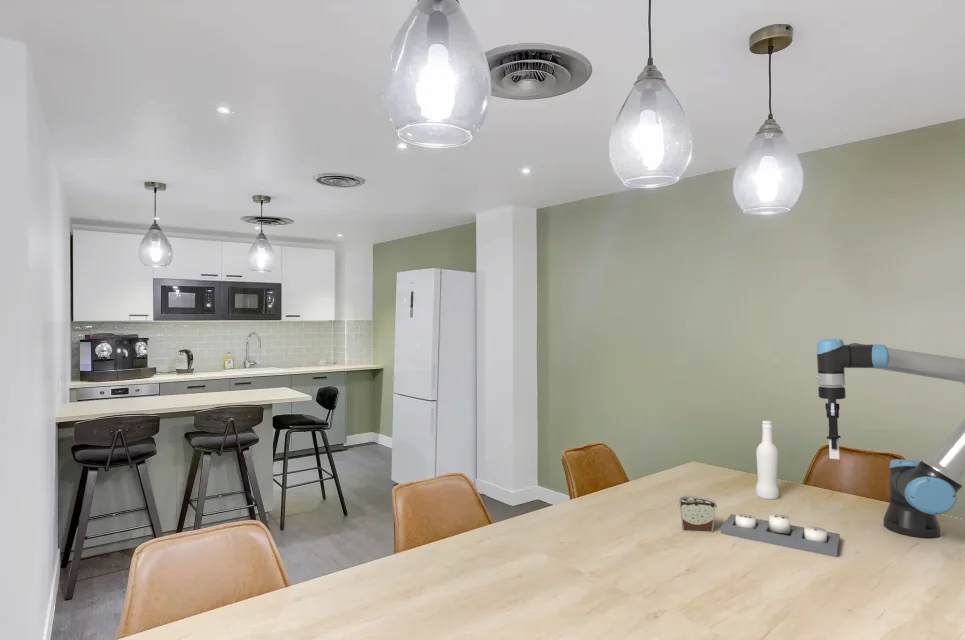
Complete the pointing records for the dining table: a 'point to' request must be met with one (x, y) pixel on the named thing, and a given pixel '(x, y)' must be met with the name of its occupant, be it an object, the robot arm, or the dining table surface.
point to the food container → (697, 513)
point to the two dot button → (779, 523)
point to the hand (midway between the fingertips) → (834, 458)
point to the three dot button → (746, 521)
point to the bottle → (767, 464)
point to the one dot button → (815, 534)
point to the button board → (782, 537)
